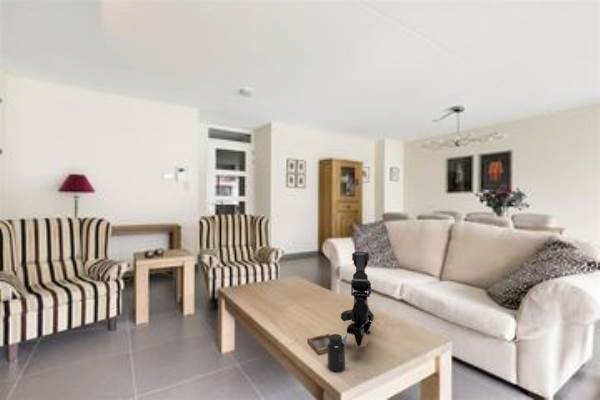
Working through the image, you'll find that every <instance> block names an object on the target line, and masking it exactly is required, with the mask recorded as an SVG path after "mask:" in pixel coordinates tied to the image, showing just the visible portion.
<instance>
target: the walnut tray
mask: <svg viewBox="0 0 600 400" xmlns="http://www.w3.org/2000/svg"><path fill="white" fill-rule="evenodd" d="M330 335H331V333H325V334H322V335H321V334H320V335H317V336H313V337H307V344H308V345H309V346H310V348H311V349H313V350H314V353H316V354H317V356H320V355H324V354H327V345H328V343H329V342H330V341H329V340H330Z"/></svg>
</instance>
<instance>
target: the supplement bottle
mask: <svg viewBox="0 0 600 400" xmlns="http://www.w3.org/2000/svg"><path fill="white" fill-rule="evenodd" d="M342 337H343V336H342V335H341V334H340V333H339V334H338V333H332V334H330V340H329V341H330V342H329V343H328V345H327V353H326V355H327V367H328V369H329V370H330V371H331V372H334V373H339V372H342V371H344V370H345V368H346V352H345V351H346V349H345V347H346V346H344V344H343V343H342Z"/></svg>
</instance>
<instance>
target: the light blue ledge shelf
mask: <svg viewBox="0 0 600 400" xmlns="http://www.w3.org/2000/svg"><path fill="white" fill-rule="evenodd" d="M342 343H343V344H344V346H345V347H346V346H347V345H348V343H349V342H348V341H347V334H343V336H342Z"/></svg>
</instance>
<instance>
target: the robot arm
mask: <svg viewBox="0 0 600 400" xmlns="http://www.w3.org/2000/svg"><path fill="white" fill-rule="evenodd" d="M351 257H352V258H351V259H352V261H353V265H354V267H355V272H354V273H353V276H352V279H351V281H350V284H351V285H350V286H351V289H350V290H351V291H350V293H351V294H350V295H351V297H352V296H353V306H352V309H348V310H344V311H342V312H341V313H340V319H341V320H342V321H343V322H347V321H351V323H350V324H349V325H348V326H347V327H346V333H347V334H351V335H353V336H355V339H356V342H357V344H356V345H357V346H358V347H360V345H361V342H362V339H363V336H364V333H366V335H367V336H368V335H369V334H371V331H370V328H371V325H372V323H373V321H374V320H375V315H374V313H372V311H371V309H370V308H369V303H368V298H369V297H371V296H370V295H371V294H372V283H371V280H369V279H368V278H369V277H368V274H367V273H366V269H367V266H368V263H369V262H370V253H367V251H354V252H352V253H351Z"/></svg>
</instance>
